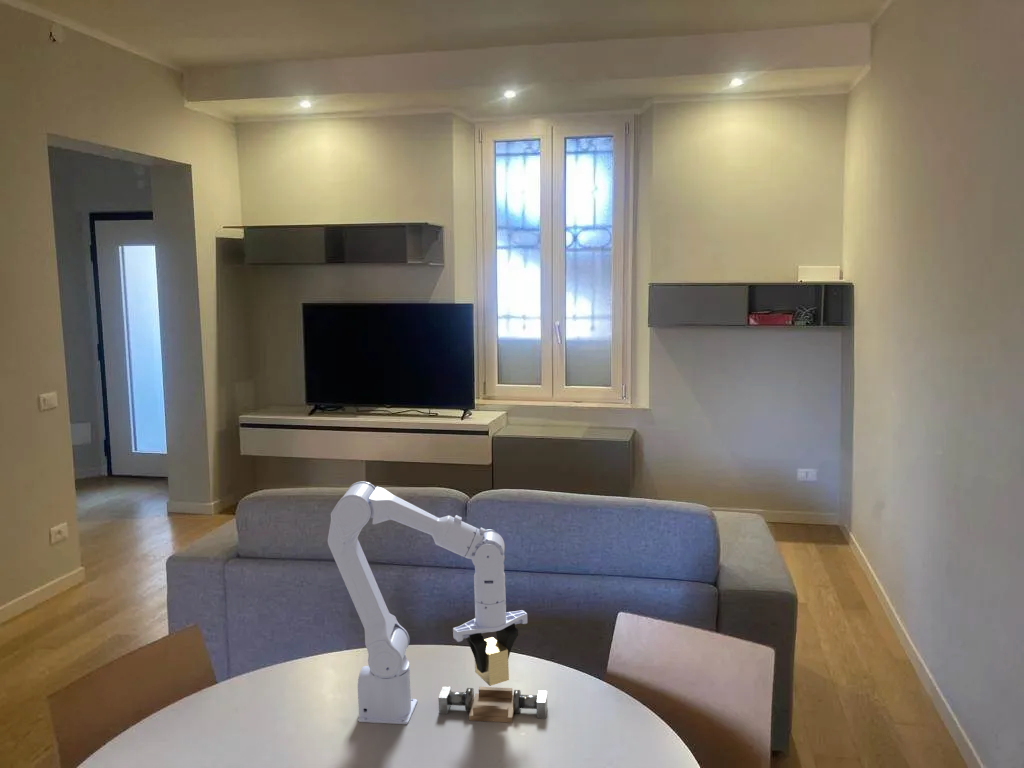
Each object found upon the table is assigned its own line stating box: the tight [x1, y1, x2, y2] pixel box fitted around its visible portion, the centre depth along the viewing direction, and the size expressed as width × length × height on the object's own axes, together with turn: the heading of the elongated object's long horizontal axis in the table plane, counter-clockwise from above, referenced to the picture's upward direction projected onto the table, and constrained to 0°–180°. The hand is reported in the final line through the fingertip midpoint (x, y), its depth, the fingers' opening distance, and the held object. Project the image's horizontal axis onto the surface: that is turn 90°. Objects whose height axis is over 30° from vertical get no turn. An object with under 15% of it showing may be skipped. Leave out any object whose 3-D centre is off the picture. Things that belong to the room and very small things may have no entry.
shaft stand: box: [438, 686, 548, 724], centre depth 150 cm, size 20×8×4 cm, turn 83°
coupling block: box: [474, 636, 510, 687], centre depth 149 cm, size 6×4×6 cm, turn 29°
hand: (492, 667), depth 149 cm, fingers closed on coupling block, 4 cm apart
